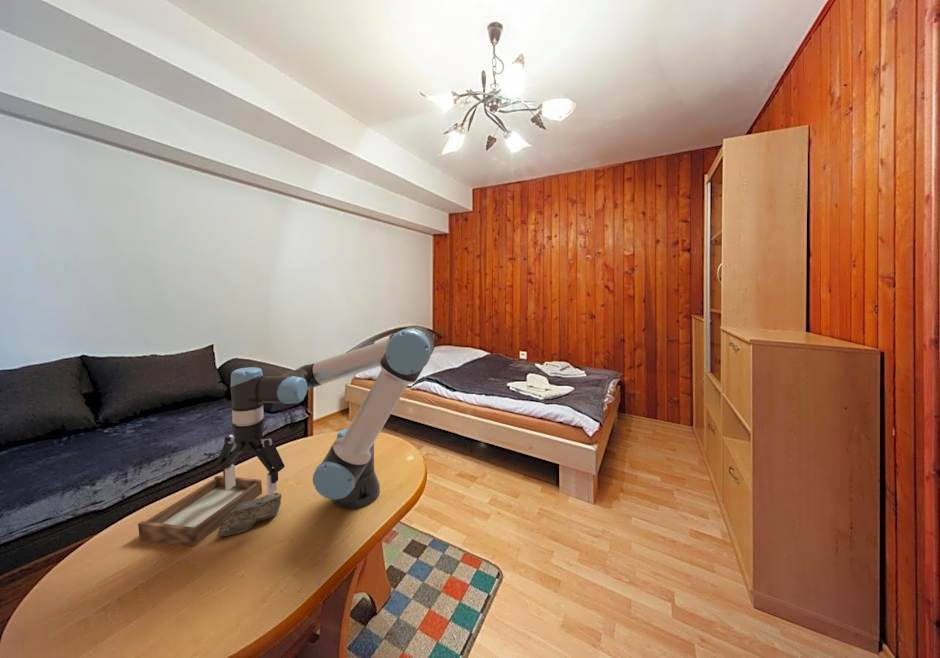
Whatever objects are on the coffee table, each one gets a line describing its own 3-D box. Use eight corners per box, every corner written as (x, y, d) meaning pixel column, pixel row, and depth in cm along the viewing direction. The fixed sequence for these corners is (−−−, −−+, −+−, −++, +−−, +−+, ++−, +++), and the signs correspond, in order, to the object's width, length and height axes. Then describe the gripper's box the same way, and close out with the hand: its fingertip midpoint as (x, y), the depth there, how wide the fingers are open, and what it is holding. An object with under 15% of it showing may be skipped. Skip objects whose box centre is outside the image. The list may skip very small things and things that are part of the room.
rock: (275, 487, 106) (288, 491, 100) (277, 508, 106) (290, 513, 99) (210, 512, 93) (220, 518, 87) (212, 537, 92) (223, 545, 86)
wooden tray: (262, 493, 110) (261, 479, 110) (193, 546, 87) (192, 530, 86) (217, 488, 112) (217, 475, 112) (139, 539, 89) (138, 523, 88)
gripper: (296, 419, 95) (298, 487, 98) (221, 413, 98) (224, 478, 101) (278, 430, 88) (280, 502, 90) (198, 422, 91) (202, 493, 93)
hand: (251, 490), depth 95 cm, fingers open, 13 cm apart
